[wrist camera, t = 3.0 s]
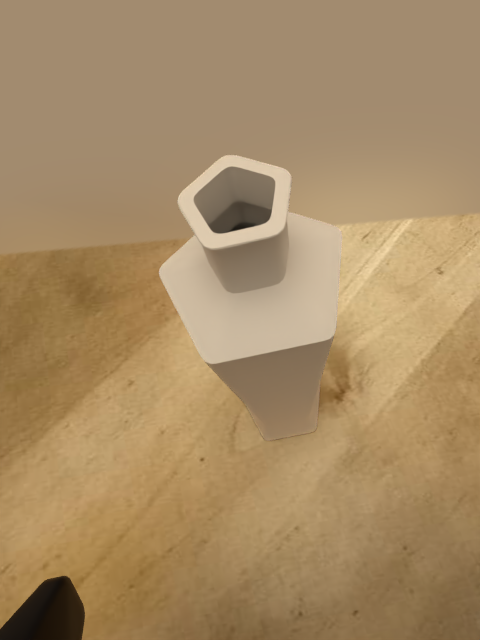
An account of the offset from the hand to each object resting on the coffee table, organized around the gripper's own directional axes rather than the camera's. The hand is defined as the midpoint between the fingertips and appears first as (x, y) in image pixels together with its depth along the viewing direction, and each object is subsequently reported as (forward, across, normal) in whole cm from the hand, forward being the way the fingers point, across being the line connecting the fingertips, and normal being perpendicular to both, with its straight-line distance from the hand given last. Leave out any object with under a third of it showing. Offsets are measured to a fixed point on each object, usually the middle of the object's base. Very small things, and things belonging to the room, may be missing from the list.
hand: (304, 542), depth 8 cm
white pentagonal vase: (+13, 0, +5) cm, 14 cm away
